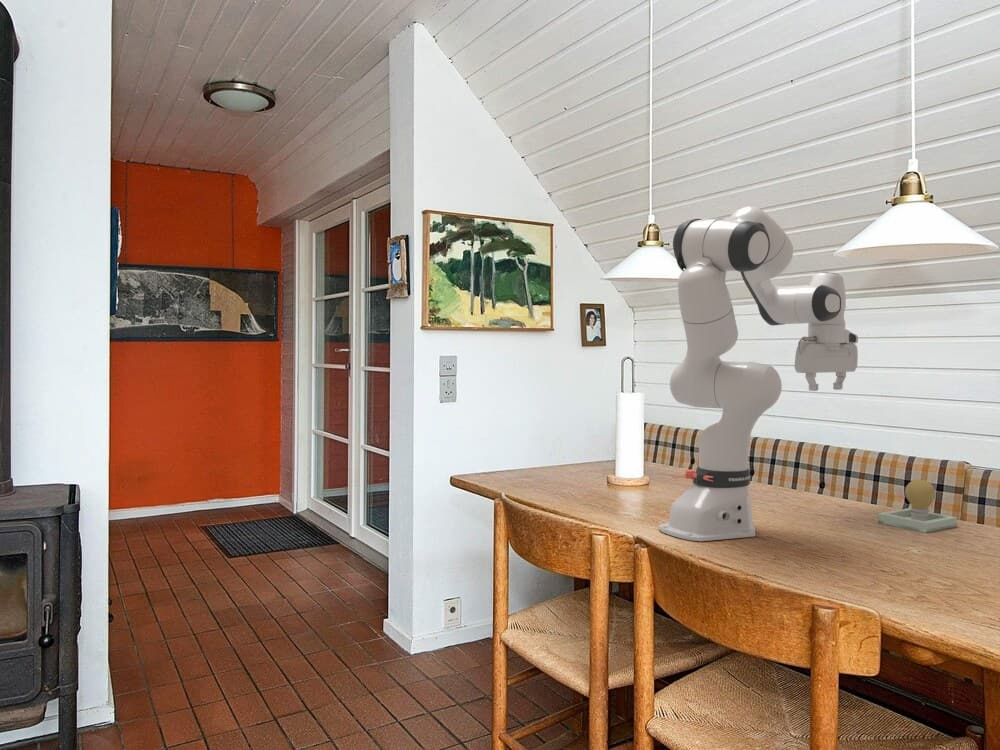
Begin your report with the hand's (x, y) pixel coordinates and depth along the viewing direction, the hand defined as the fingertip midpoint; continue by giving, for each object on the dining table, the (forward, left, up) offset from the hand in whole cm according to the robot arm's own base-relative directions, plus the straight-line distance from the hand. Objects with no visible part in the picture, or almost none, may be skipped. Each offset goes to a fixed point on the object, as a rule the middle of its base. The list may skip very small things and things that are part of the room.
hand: (825, 390), depth 200 cm
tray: (+5, -22, -31) cm, 38 cm away
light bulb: (+6, -22, -31) cm, 38 cm away
